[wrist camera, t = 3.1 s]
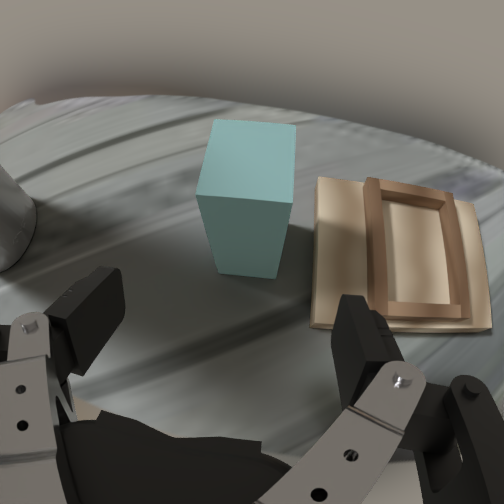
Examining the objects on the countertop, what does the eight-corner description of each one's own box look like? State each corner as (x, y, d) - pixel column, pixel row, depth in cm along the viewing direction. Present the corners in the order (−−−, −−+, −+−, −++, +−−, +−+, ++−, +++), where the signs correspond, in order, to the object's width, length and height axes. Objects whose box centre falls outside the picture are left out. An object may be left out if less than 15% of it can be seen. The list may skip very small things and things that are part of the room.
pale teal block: (218, 273, 24) (195, 194, 14) (227, 216, 26) (214, 119, 16) (275, 279, 24) (292, 203, 14) (280, 221, 26) (295, 125, 16)
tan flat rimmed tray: (309, 327, 23) (319, 318, 19) (314, 189, 27) (321, 165, 24) (478, 332, 22) (502, 323, 19) (463, 213, 27) (481, 196, 23)
